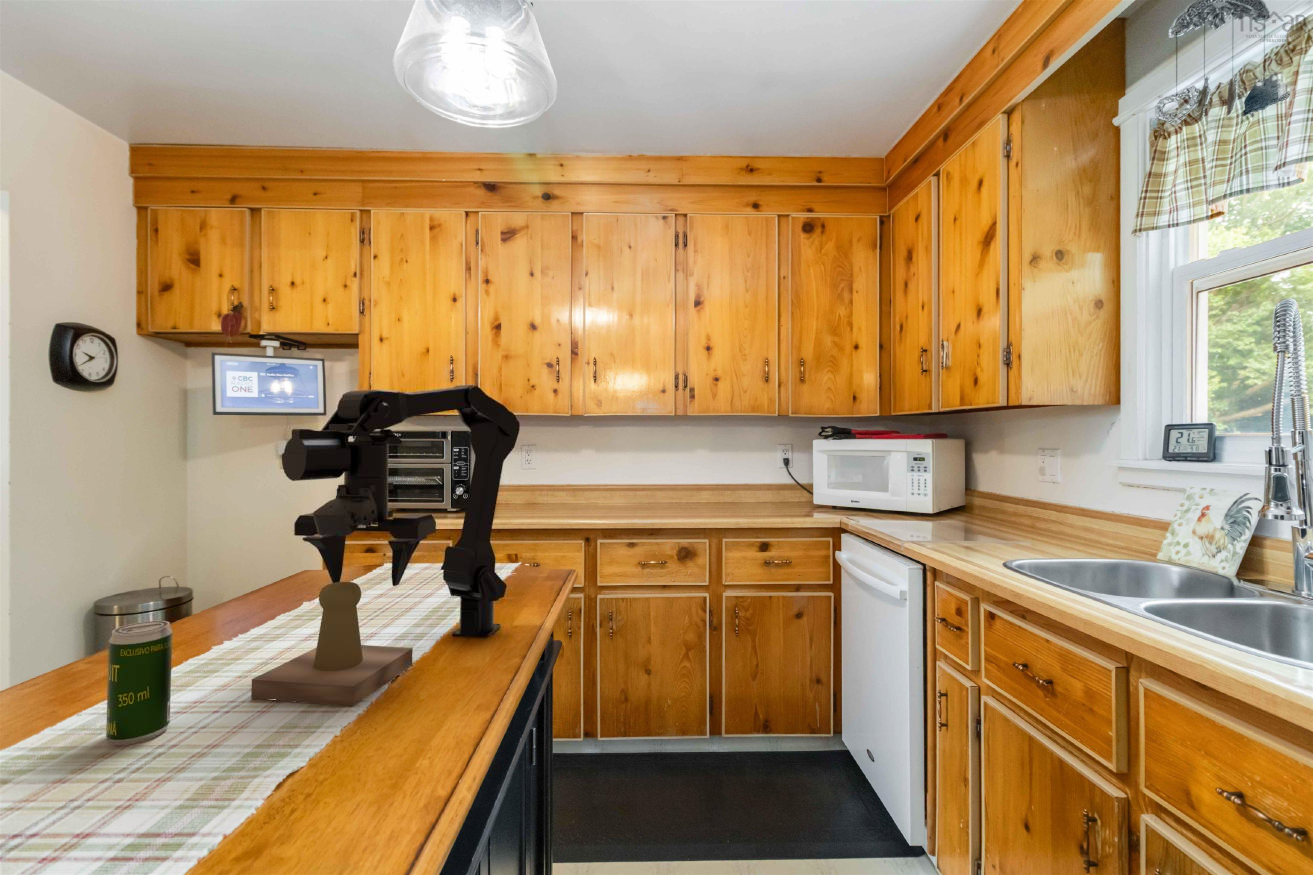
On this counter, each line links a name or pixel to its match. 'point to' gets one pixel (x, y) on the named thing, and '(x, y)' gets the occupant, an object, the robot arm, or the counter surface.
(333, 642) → the olive brown game pawn
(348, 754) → the counter surface
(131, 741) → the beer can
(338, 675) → the walnut base
